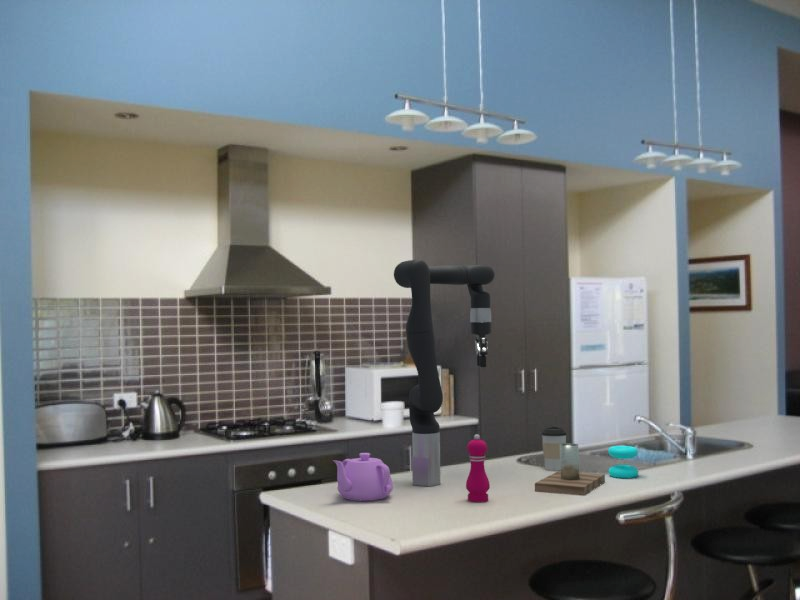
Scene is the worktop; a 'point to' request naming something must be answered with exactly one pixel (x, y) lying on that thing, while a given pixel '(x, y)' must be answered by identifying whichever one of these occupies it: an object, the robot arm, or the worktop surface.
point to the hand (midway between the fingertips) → (481, 366)
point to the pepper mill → (477, 471)
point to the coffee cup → (552, 447)
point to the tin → (569, 461)
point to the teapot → (363, 478)
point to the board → (570, 484)
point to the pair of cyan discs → (623, 453)
